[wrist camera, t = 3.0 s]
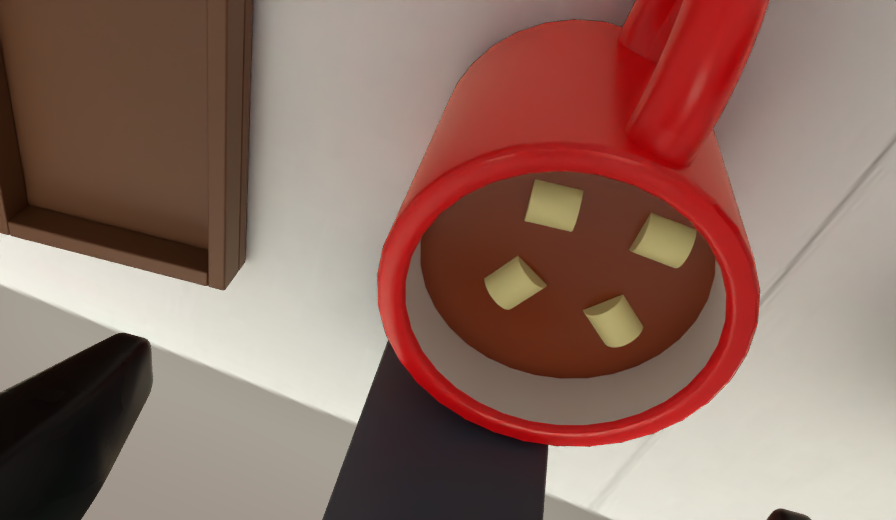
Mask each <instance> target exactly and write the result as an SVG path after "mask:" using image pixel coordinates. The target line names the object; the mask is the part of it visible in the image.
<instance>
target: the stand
mask: <svg viewBox="0 0 896 520" xmlns="http://www.w3.org/2000/svg"><path fill="white" fill-rule="evenodd" d="M547 459H548V445H547V444H540V443H533V442H525V441H522V440H519V439H516V438H512V437H509V436H505V435H502V434H498V433H494V432H492V431H490V430H488V429H486V428H484V427H481V426H479V425H477V424H475V423H472V422H470V421H468V420H465V419H464V418H463V417H461V416H459V415H458V414H456V413H455V412H453V411H452V410H450V409H449V408H447V407H445V406H444V405H442V404H440V403H439V402H438V401H437V400H436V399H435V398H434V397H432V396H431V395H430V394H429V393H428V392H427V391H426V390H425V389H423V388H422V387H421V386H420V385H419V384H417V382H416V381H415V380H414V378H413V377H412V376H411V375H410V373H409V372H408V371H407V369H406V368H405V367H404V366H403V364H402V363H401V362H400V361H399V359H398V357H397V355H396V353H395V351H394V349H393V347H392V346H391V344H390V342H389V340H388V342H387V345H386V347H385V350H384V353H383V356H382V358H381V361H380V364H379V367H378V369H377V372H376V375H375V377H374V380H373V383H372V386H371V388H370V391H369V394H368V397H367V399H366V402H365V405H364V407H363V410H362V413H361V416H360V418H359V421H358V424H357V427H356V430H355V432H354V435H353V437H352V440H351V443H350V446H349V449H348V451H347V454H346V457H345V460H344V462H343V465H342V467H341V470H340V473H339V476H338V479H337V482H336V484H335V487H334V489H333V492H332V495H331V497H330V500H329V503H328V506H327V508H326V511H325V514H324V517H323V519H322V520H543V512H544V498H545V486H546V472H547Z"/></svg>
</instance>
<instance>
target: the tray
mask: <svg viewBox="0 0 896 520" xmlns="http://www.w3.org/2000/svg"><path fill="white" fill-rule="evenodd" d="M252 11H253V0H0V233H2V234H6V235H11V236H14V237H18V238H22V239H25V240H29V241H33V242H37V243H41V244H45V245H49V246H53V247H56V248H60V249H64V250H68V251H72V252H76V253H80V254H84V255H88V256H91V257H95V258H99V259H103V260H107V261H111V262H115V263H119V264H123V265H126V266H130V267H134V268H138V269H142V270H146V271H150V272H154V273H158V274H161V275H165V276H169V277H173V278H177V279H181V280H185V281H189V282H193V283H196V284H200V285H204V286H208V285H209V287H212V288H216V289H220V290H225V289H226V288H227V286H228V285H229V283H230V282H231V281H232V279H233V278H234V276H235V275H236V274H237V272H238V270H240V268H241V267H242V265H243V264H244V263H245V250H246V216H247V182H248V148H249V113H250V79H251V45H252Z"/></svg>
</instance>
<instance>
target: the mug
mask: <svg viewBox="0 0 896 520" xmlns="http://www.w3.org/2000/svg"><path fill="white" fill-rule="evenodd" d="M768 4H769V0H636V1H635V3H634V5H633V7H632V9H631V11H630V13H629V15H628V17H627V19H626V22H625V24H624V26H623V27H621V26H617V25H614V24H610V23H607V22H603V21H589V20H576V19H573V20H565V21H557V22H548V23H543V24H540V25H537V26H534V27H531V28H528V29H525V30H522V31H519V32H516V33H515V34H513V35H511V36H509V37H508V38H506V39H504V40H502V41H500V42H499V43H497V44H495V45H493V46H492V47H491V48H490V49H489V50H488V51H486V52H485V53H484V54H483V55H482V56H481V57H479V58H478V59H477V60H476V61H475V62H474V63H473V64H472V65H471V66H470V68H469V69H468V70H467V71H466V73H465V74H464V75H463V77H462V78H461V79H460V81H459V82H458V83H457V85H456V87H455V89H454V91H453V93H452V95H451V97H450V100H449V102H448V104H447V106H446V108H445V110H444V112H443V115H442V117H441V119H440V121H439V124H438V126H437V128H436V130H435V132H434V135H433V137H432V139H431V141H430V144H429V146H428V148H427V150H426V152H425V155H424V157H423V159H422V161H421V163H420V166H419V168H418V170H417V172H416V175H415V177H414V179H413V181H412V183H411V186H410V188H409V190H408V192H407V195H406V197H405V199H404V201H403V203H402V206H401V208H400V210H399V212H398V215H397V217H396V219H395V221H394V223H393V226H392V228H391V230H390V232H389V235H388V237H387V239H386V241H385V243H384V246H383V250H382V254H381V259H380V264H379V269H378V273H377V288H378V307H379V311H380V315H381V319H382V322H383V326H384V330H385V333H386V336H387V338H388V340H389V342H390V344H391V346H392V347H393V349H394V351H395V353H396V355H397V357H398V359H399V361H400V362H401V363H402V364H403V366H404V367H405V368H406V369H407V371H408V372H409V373H410V375H411V376H412V377H413V378H414V380H415V381H416V382H417V384H419V385H420V386H421V387H422V388H423V389H425V390H426V391H427V392H428V393H429V394H430V395H431V396H432V397H434V398H435V399H436V400H437V401H438V402H439V403H440V404H442V405H444V406H445V407H447V408H449V409H450V410H452V411H453V412H455V413H456V414H458V415H459V416H461V417H463V418H464V419H465V420H468V421H470V422H472V423H475V424H477V425H479V426H481V427H484V428H486V429H488V430H490V431H492V432H494V433H498V434H502V435H505V436H509V437H512V438H516V439H519V440H522V441H525V442H533V443H540V444H547V445H553V446H586V447H590V446H596V445H604V444H612V443H622V442H625V441H628V440H631V439H635V438H639V437H642V436H646V435H650V434H654V433H656V432H658V431H660V430H662V429H664V428H666V427H669V426H671V425H673V424H675V423H677V422H680V421H683V420H684V419H685V418H687V417H688V416H689V415H691V414H692V413H694V412H695V411H697V410H698V409H700V408H701V407H703V406H704V405H706V404H707V403H709V402H710V401H711V400H712V399H713V398H714V397H715V396H716V395H717V394H718V393H719V392H720V391H721V390H722V389H723V388H724V387H725V386H726V385H727V384H728V382H729V381H730V380H731V379H732V378H733V376H734V374H735V373H736V371H737V370H738V368H739V367H740V365H741V363H742V362H743V360H744V359H745V357H746V355H747V353H748V351H749V348H750V345H751V342H752V339H753V336H754V333H755V330H756V327H757V324H758V316H759V302H760V287H759V281H758V276H757V271H756V266H755V261H754V257H753V253H752V250H751V247H750V244H749V241H748V238H747V234H746V231H745V228H744V225H743V222H742V219H741V215H740V212H739V209H738V206H737V203H736V199H735V196H734V193H733V190H732V187H731V184H730V180H729V177H728V174H727V171H726V168H725V165H724V161H723V158H722V155H721V152H720V149H719V146H718V142H717V139H716V136H715V133H714V130H713V128H714V126H715V124H716V123H717V121H718V119H719V117H720V116H721V114H722V112H723V110H724V108H725V106H726V104H727V102H728V100H729V98H730V97H731V95H732V92H733V90H734V88H735V86H736V84H737V82H738V80H739V78H740V76H741V74H742V71H743V69H744V67H745V65H746V62H747V60H748V58H749V55H750V53H751V51H752V48H753V46H754V43H755V40H756V38H757V35H758V33H759V30H760V27H761V25H762V22H763V19H764V16H765V13H766V10H767V7H768Z"/></svg>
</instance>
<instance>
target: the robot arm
mask: <svg viewBox="0 0 896 520" xmlns="http://www.w3.org/2000/svg"><path fill="white" fill-rule="evenodd" d="M152 383H153V373H152V355H151V345H150V342H149V341H148V340H147V339H145V338H142V337H138V336H135V335H131V334H127V333H118V334H115V335H113V336H111V337H109V338H107V339H105V340H103V341H101V342H99V343H97V344H95V345H93V346H91V347H89V348H87V349H85V350H83V351H81V352H79V353H77V354H76V355H73V356H72V357H69V358H67V359H65V360H63V361H62V362H60V363H58V364H56V365H54V366H52V367H50V368H48V369H46V370H44V371H42V372H40V373H38V374H36V375H34V376H32V377H30V378H28V379H26V380H24V381H22V382H20V383H18V384H16V385H14V386H12V387H10V388H8V389H6V390H4V391H2V392H0V520H81V519H82V517H83V516H84V514H85V513H86V511H87V510H88V508H89V507H90V505H91V504H92V502H93V500H94V499H95V497H96V496H97V494H98V492H99V491H100V489H101V487H102V486H103V484H104V482H105V480H106V478H107V476H108V474H109V472H110V471H111V469H112V467H113V465H114V463H115V461H116V459H117V457H118V455H119V453H120V451H121V449H122V447H123V445H124V443H125V441H126V439H127V437H128V435H129V434H130V431H131V430H132V428H133V425H134V424H135V422H136V420H137V418H138V416H139V414H140V412H141V410H142V408H143V406H144V404H145V402H146V400H147V398H148V396H149V394H150V391H151V388H152ZM767 520H811V519H810V518H809V517H808V516H806V515H804V514H800V513H797V512H793V511H789V510H785V509H777V510H775V511H773V512H772V513H771V515H770V516H769V517H768V519H767Z"/></svg>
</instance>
